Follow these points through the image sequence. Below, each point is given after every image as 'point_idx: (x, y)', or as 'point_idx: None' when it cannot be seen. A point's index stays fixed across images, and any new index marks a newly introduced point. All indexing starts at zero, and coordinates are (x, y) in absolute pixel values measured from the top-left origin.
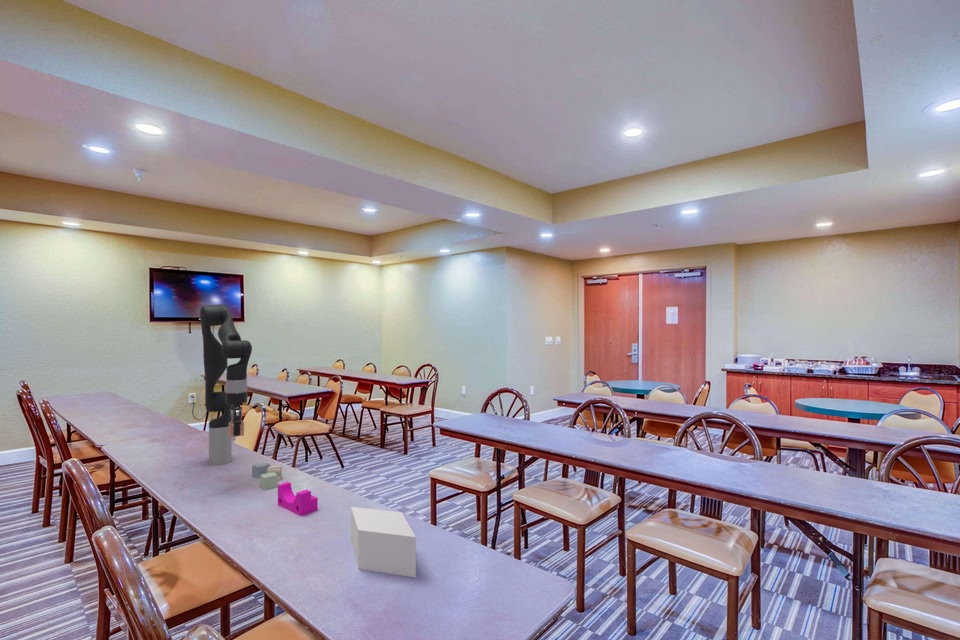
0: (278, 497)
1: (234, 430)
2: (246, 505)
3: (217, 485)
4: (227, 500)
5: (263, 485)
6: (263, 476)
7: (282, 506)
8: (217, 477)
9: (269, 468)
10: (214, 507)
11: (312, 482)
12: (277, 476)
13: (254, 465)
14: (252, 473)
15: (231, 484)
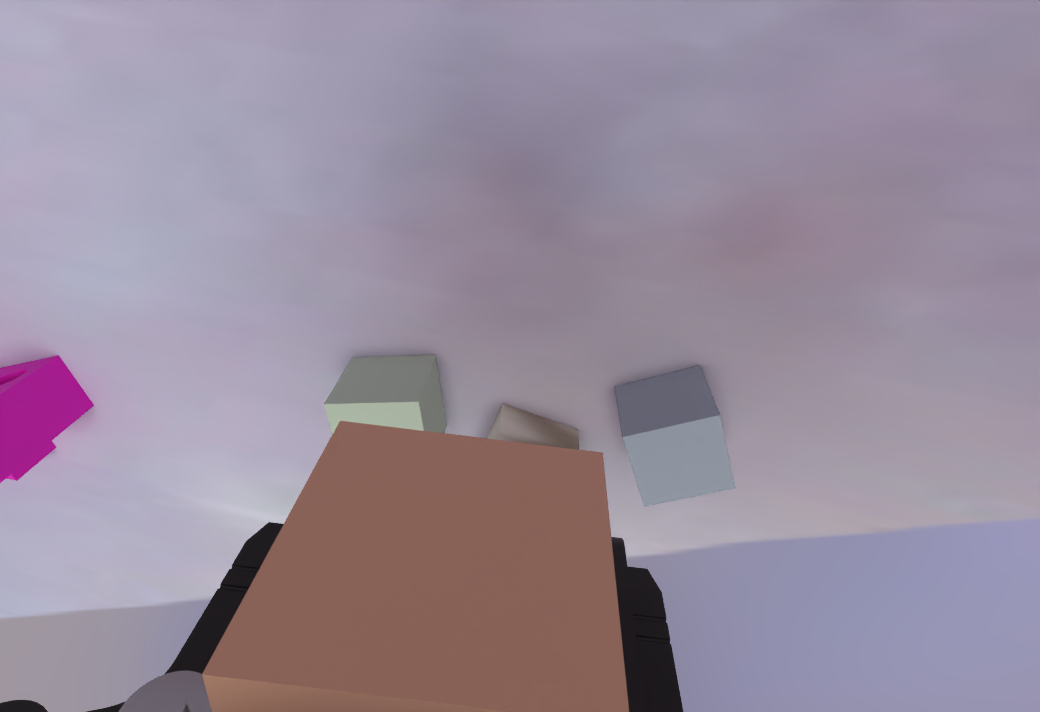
0: (15, 381)
1: None
2: (121, 216)
3: (692, 123)
4: (277, 128)
5: (354, 373)
6: (362, 409)
7: (10, 368)
8: (919, 158)
9: None
10: (165, 18)
11: None
12: None
13: (699, 425)
14: (700, 380)
15: (633, 218)
